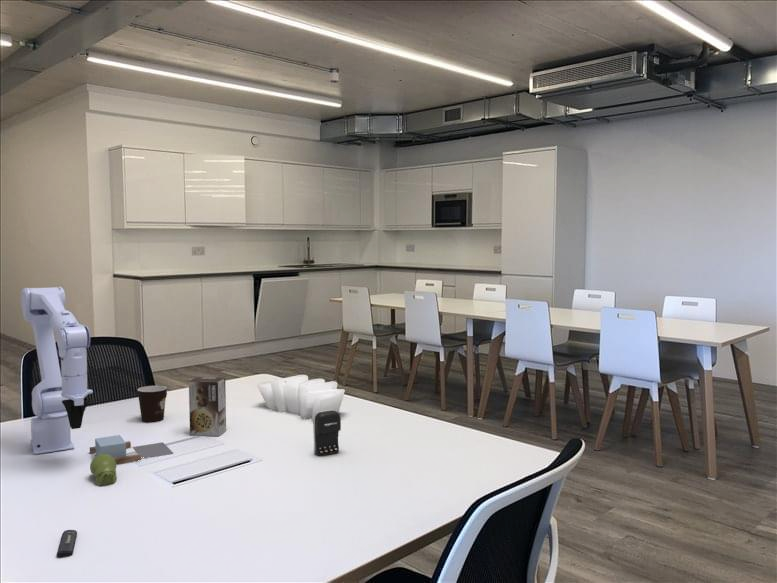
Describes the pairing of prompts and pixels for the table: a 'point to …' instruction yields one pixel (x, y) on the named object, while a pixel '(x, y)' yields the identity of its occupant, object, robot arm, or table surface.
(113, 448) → the block
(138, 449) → the mat
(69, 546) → the usb stick
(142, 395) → the coffee mug
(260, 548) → the table surface
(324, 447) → the battery charger
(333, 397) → the white wavy slab sculpture
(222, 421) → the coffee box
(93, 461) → the pear
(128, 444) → the chute
